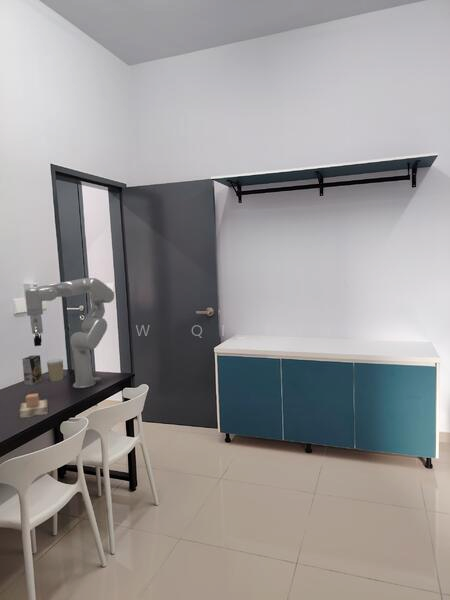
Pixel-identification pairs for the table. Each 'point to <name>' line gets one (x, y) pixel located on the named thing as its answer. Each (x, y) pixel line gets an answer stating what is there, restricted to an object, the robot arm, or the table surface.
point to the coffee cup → (55, 369)
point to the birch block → (34, 409)
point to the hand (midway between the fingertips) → (38, 344)
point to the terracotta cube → (32, 400)
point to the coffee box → (32, 370)
